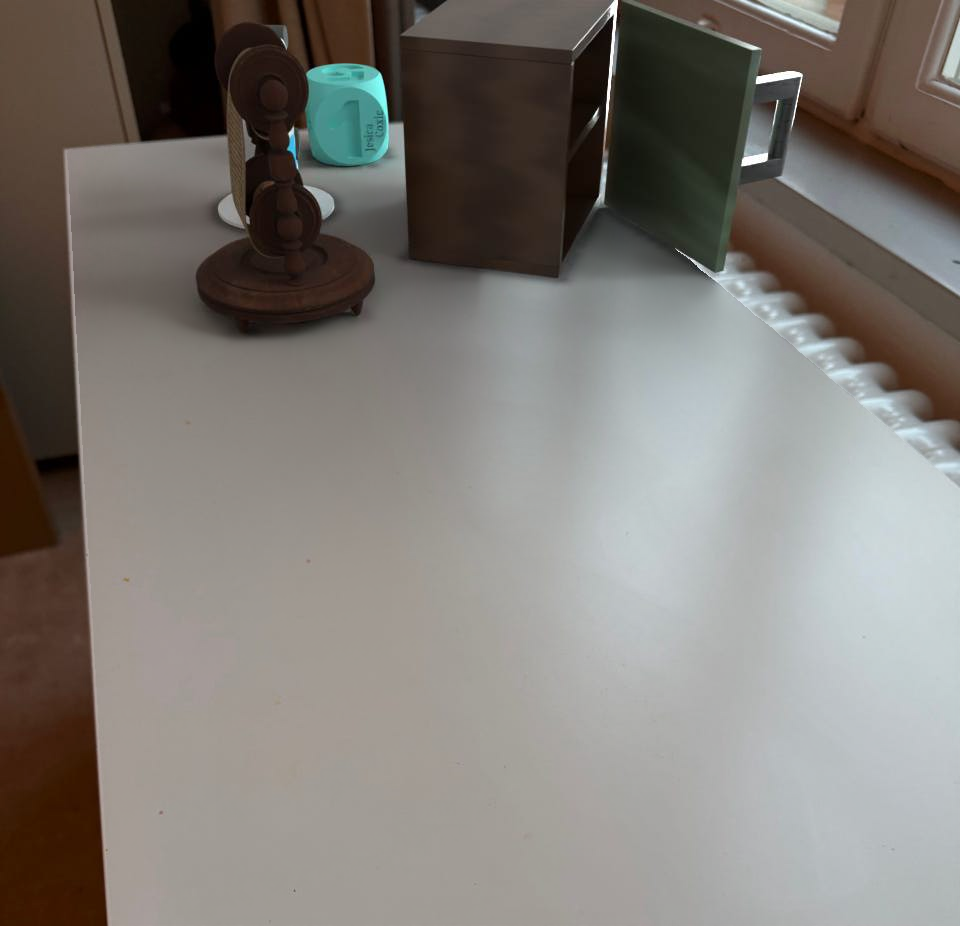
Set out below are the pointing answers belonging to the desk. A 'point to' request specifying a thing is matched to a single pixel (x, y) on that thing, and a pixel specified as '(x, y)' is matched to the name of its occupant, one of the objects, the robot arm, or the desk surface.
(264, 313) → the dark brown piece
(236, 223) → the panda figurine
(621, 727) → the desk surface
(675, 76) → the cupboard door
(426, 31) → the cupboard
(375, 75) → the decorative dice
